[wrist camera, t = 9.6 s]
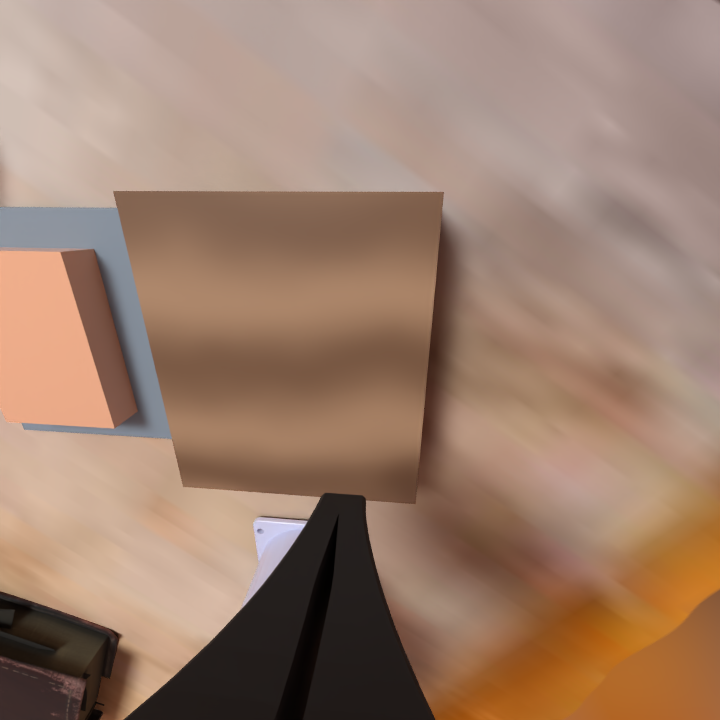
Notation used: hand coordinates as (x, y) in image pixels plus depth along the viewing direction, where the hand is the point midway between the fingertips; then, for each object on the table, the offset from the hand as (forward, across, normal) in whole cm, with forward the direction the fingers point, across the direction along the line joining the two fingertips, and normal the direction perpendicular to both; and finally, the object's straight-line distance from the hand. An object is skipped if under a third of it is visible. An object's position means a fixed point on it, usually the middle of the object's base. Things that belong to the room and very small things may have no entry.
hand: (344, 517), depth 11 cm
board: (+10, +4, -2) cm, 11 cm away
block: (+8, +18, -2) cm, 20 cm away
